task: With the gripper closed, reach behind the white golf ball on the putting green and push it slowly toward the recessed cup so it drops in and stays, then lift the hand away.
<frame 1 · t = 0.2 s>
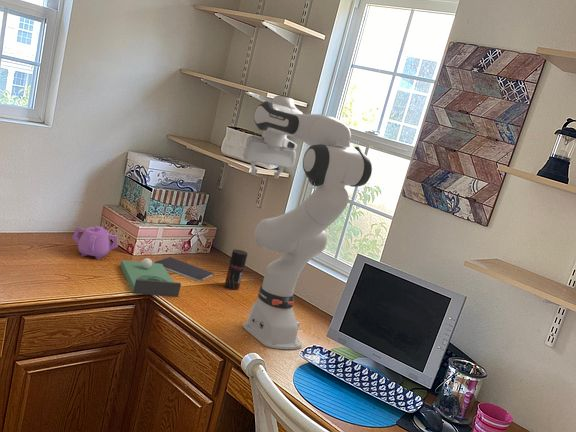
hand: (264, 175, 223), 48 cm above the worktop, fingers open, 8 cm apart
deodorant: (231, 287, 238), on the worktop
pot: (92, 255, 234), on the worktop
green: (147, 280, 222), on the worktop
ball: (146, 263, 227), point 4 cm above the worktop, touching green
notebook: (183, 271, 244), on the worktop
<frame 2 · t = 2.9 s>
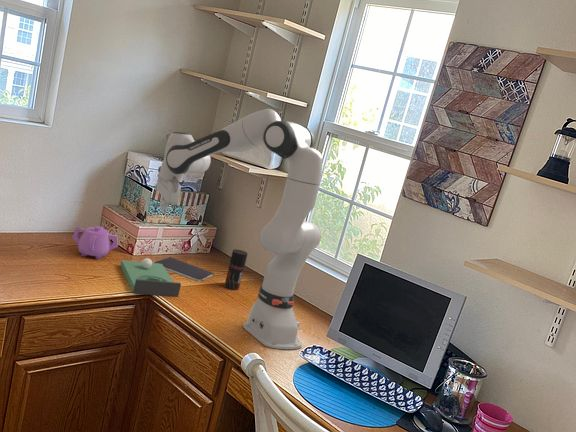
hand: (163, 208, 225), 26 cm above the worktop, fingers closed
nothing on the worktop moved.
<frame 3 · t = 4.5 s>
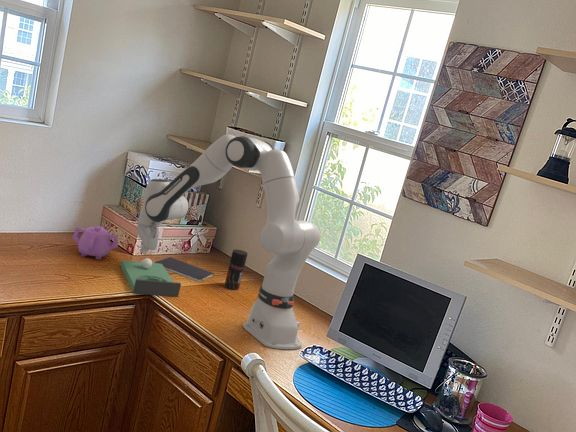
hand: (143, 252, 232), 6 cm above the worktop, fingers closed
nothing on the worktop moved.
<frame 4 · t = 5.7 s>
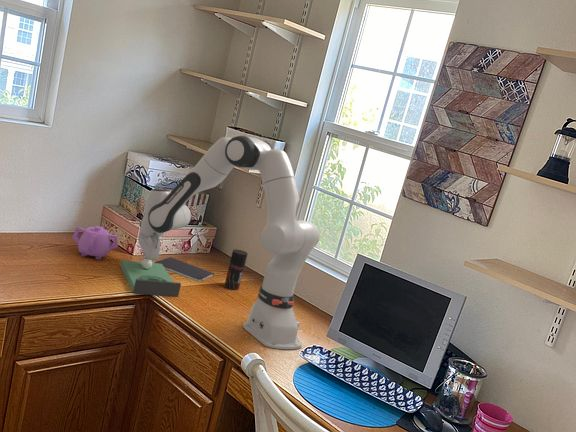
hand: (145, 263, 229), 3 cm above the worktop, fingers closed
ball: (146, 263, 226), point 5 cm above the worktop, tilted 6°, touching gripper
everything else where it was.
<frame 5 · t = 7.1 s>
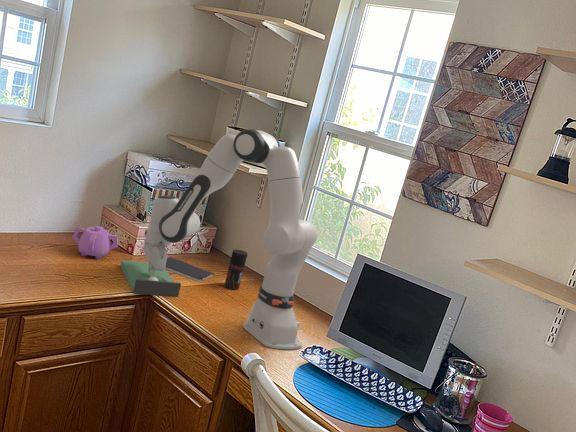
hand: (150, 273, 220), 3 cm above the worktop, fingers closed
ball: (153, 282, 215), point 2 cm above the worktop, tilted 43°, touching green
everything else where it was.
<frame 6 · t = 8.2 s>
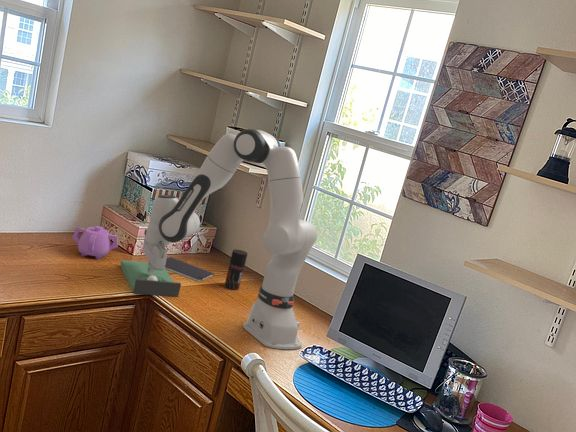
hand: (150, 272, 220), 4 cm above the worktop, fingers closed
ball: (152, 280, 217), point 2 cm above the worktop, touching green
everything else where it was.
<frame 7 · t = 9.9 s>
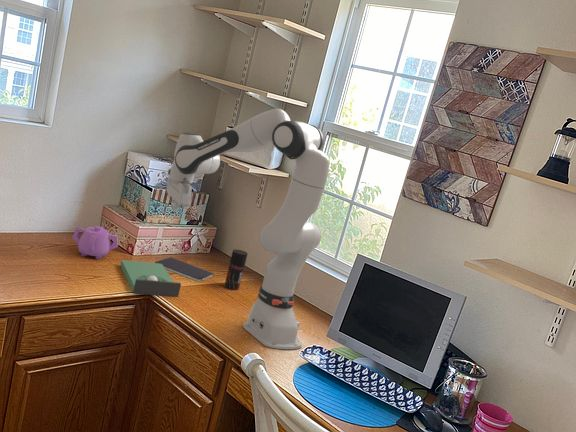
hand: (174, 211, 224), 27 cm above the worktop, fingers closed
ball: (152, 281, 216), point 2 cm above the worktop, tilted 6°, touching green
everything else where it was.
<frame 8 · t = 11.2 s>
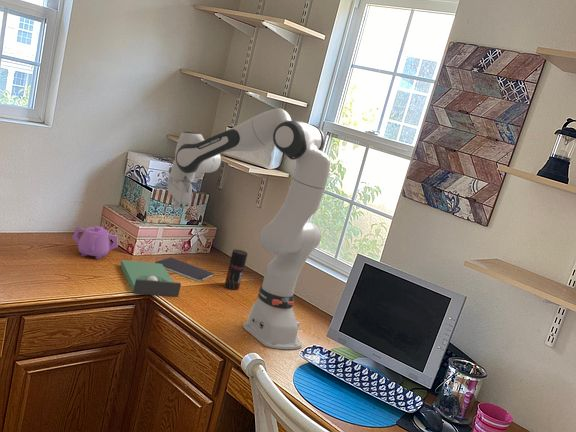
hand: (175, 209, 224), 27 cm above the worktop, fingers closed
nothing on the worktop moved.
at the end: ball 0.6 cm from the target spot on the green, point 2.2 cm above the green's base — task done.
